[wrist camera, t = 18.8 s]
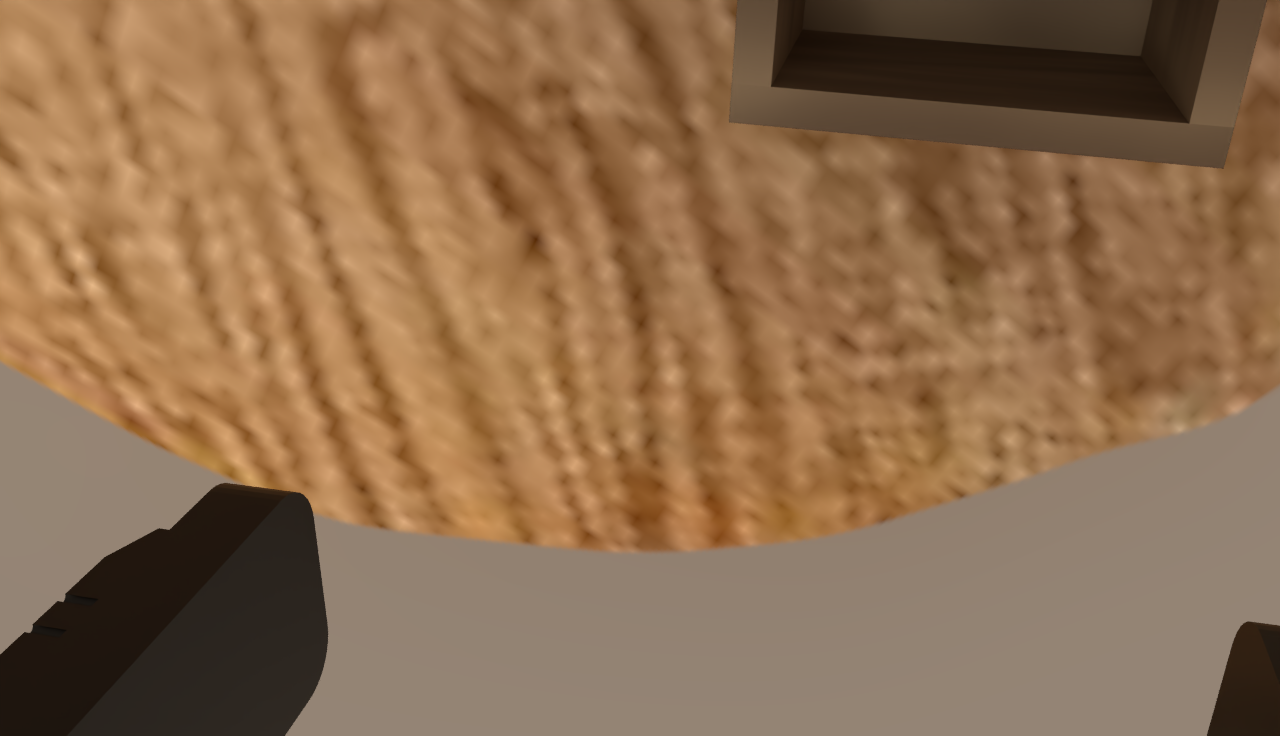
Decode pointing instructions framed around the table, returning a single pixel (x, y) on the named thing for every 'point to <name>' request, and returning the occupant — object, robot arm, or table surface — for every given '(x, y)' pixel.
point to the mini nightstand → (1003, 72)
